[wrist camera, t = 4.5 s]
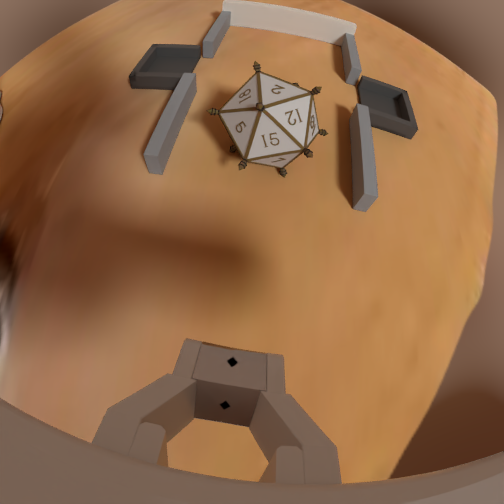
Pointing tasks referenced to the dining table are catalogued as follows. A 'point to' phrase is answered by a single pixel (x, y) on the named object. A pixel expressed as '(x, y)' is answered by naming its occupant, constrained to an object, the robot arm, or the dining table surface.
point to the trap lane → (291, 22)
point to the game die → (270, 121)
